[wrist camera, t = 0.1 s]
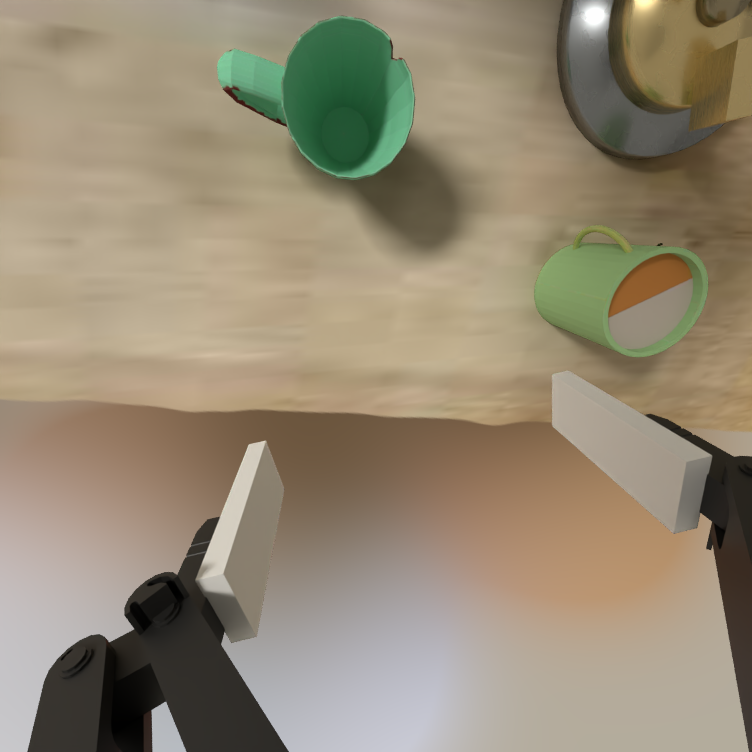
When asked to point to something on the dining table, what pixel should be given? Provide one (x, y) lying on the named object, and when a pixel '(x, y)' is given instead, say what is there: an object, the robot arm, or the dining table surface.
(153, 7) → the dining table surface
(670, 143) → the ring
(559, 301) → the mug
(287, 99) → the mug
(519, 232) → the dining table surface
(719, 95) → the three-jaw lathe chuck
